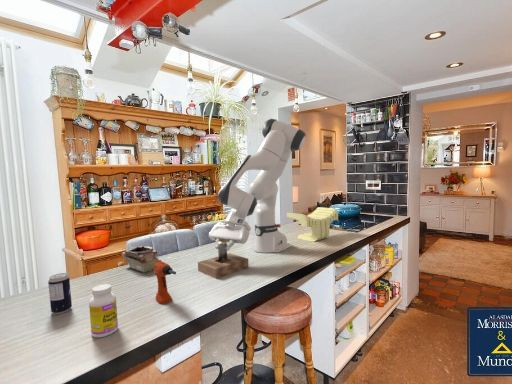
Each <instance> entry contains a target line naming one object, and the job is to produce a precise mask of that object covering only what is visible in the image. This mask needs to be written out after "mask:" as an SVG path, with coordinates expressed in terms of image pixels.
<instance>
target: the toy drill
mask: <svg viewBox="0 0 512 384" xmlns="http://www.w3.org/2000/svg"><path fill="white" fill-rule="evenodd" d="M153 274H154V275H155V276H156V278H157V293H156V294H155V300H156V302H157V303H158V304H159V305H160V304H161V305H166V304H168V303H171V302H172V301H173V298H172V296H171V294H170V293H169V292H168V285H167V277H166V276H167V275H169V276H170V275H176V274H177V272H176V271H175V270H173V268H172V267H171V265H170V264H169V263H166V262H164V261H162V260H161V259H159V260H158V261H157V262H156V263H155V265H154V269H153Z"/></svg>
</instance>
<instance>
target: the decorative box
mask: <svg viewBox="0 0 512 384" xmlns="http://www.w3.org/2000/svg"><path fill="white" fill-rule="evenodd" d="M156 256H158V250H156V249H155V250H154V247H152V246H149V245H147V246H146V245H142V246H141V245H140V246H134V247H131V248H129V249H128V250H124V251H123V252H122V253H121V257H122V258H123V259H124V260H125V261H126V263H127V264H128V265H129V267H130V268H131V269H133V270H135V271H139V272H142V273H147V272H152V271H153V270H154V265H155V263H156V262H157V261H158V260H160V259H159V257H156Z"/></svg>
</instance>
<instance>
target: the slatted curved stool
mask: <svg viewBox="0 0 512 384" xmlns="http://www.w3.org/2000/svg"><path fill="white" fill-rule="evenodd" d="M286 217H287V218H290V219H293V220H297V221H298V222H299V223H300V225H301V226H300V227H302V228H309V227H310V229H311V232H307V233H306V232H305V233H302V234H298V235H297V239H299V240H303V241H309V242H316V241H320V240H322V239H324V240H325V239H327V238H329V236H330V228H331V223H332V222H334V221H339V213H338V210H337V209H336V208H334V207H333V208H331V207H330V208H329V207H322V206H320V207H316V209H315V210H314V211H312V212H311V213H309V214H307V215H306V214H304V213H294V212H286Z"/></svg>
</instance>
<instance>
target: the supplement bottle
mask: <svg viewBox="0 0 512 384" xmlns="http://www.w3.org/2000/svg"><path fill="white" fill-rule="evenodd" d="M91 290H92V295H93V296H92V297H90V299H89V302H88V307H89V318H90V319H89V320H90V332H91V335H92V336H93V337H95V338H104V337H108V336H110V335H113V334H114V333H115V332H116V331H118V328H119V324H118V323H119V322H118V310H117V308H118V307H117V296H116V294H115V293H113V292H112V290H113V289H112V285H111V284H109V283H105V284H104V283H103V284H99V285H96V286H94V287H93V288H92V289H91Z"/></svg>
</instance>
